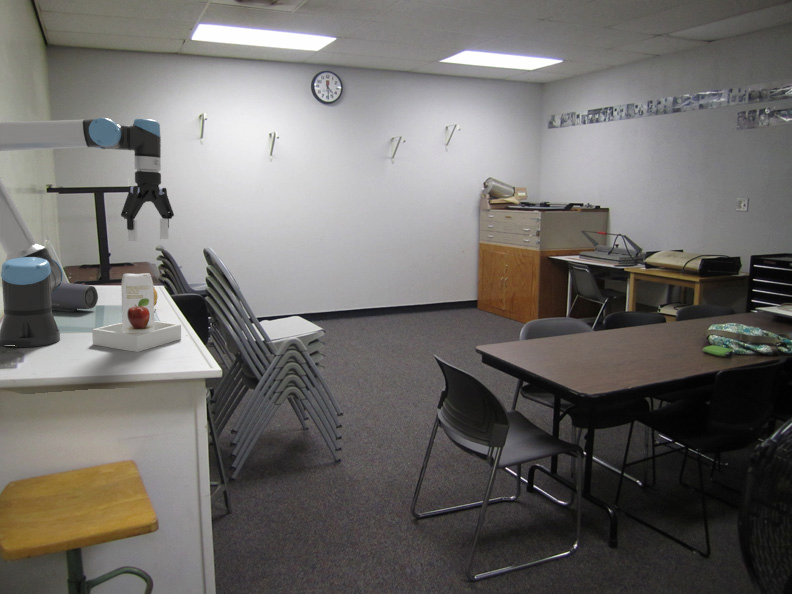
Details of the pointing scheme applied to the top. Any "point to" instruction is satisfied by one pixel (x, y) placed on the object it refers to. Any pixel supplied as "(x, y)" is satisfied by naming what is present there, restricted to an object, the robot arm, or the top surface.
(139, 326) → the juice carton
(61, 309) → the bluetooth speaker
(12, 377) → the top surface
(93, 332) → the walled box
